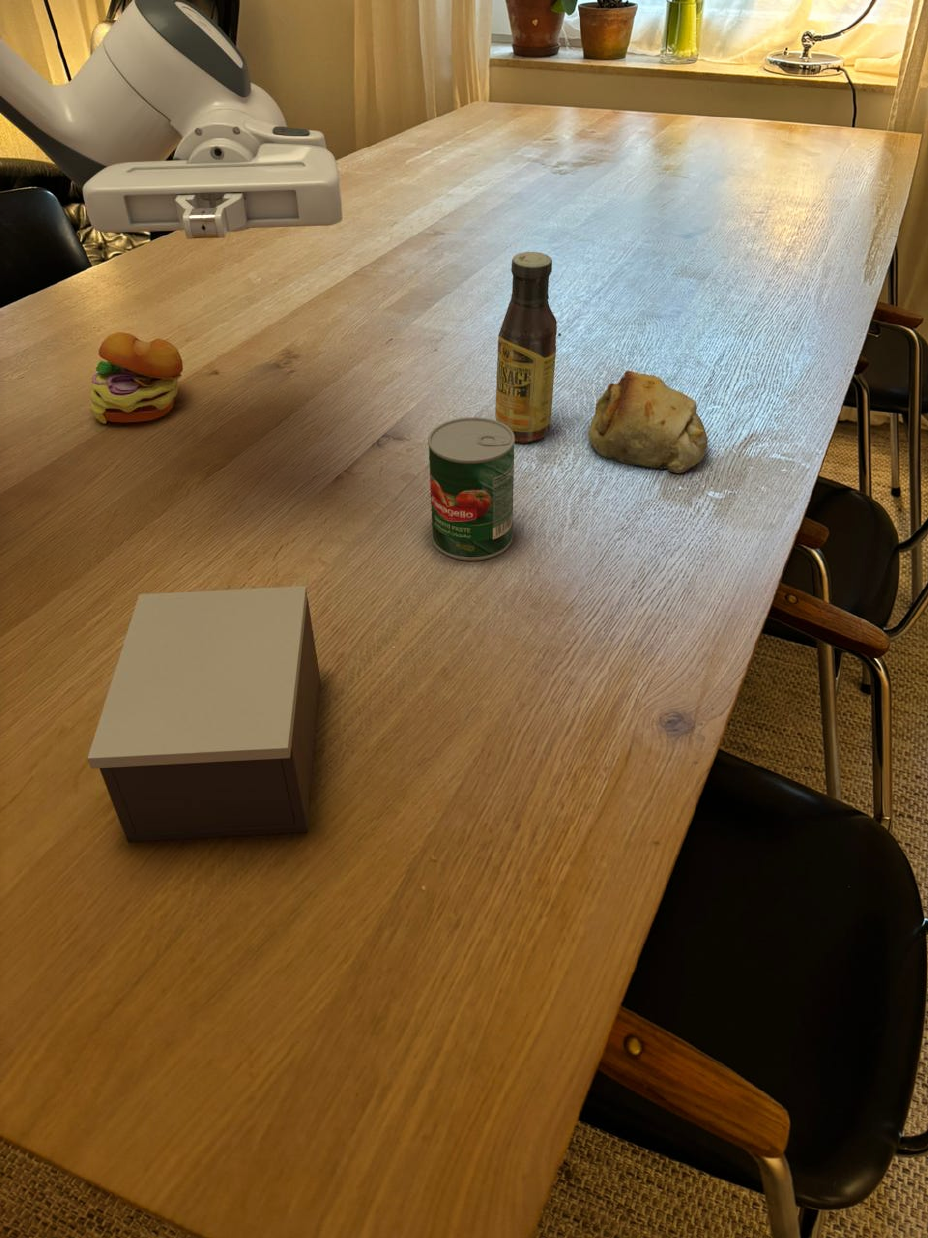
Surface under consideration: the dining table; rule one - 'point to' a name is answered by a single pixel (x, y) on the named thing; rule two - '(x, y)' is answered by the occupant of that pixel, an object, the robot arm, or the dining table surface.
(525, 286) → the sauce bottle
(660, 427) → the pastry
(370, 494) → the dining table surface
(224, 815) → the open box
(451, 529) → the canned tomato
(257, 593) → the box lid
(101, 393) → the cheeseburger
